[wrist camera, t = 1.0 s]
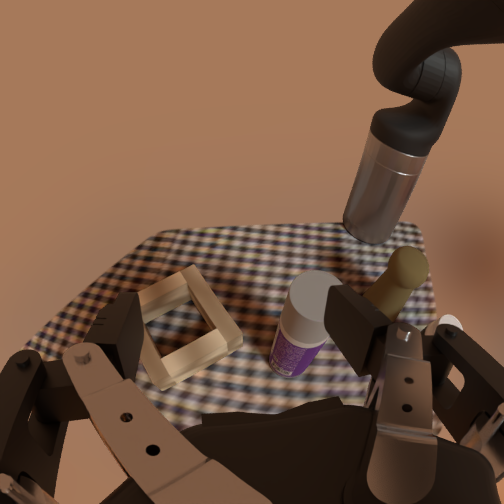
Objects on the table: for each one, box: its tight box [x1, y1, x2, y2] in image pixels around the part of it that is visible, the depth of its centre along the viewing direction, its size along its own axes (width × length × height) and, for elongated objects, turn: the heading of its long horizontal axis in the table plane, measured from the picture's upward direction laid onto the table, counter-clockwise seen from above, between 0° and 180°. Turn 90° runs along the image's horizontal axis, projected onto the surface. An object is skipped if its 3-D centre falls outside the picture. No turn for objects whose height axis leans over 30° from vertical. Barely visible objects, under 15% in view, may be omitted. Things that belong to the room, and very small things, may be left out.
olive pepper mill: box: [363, 246, 429, 322], centre depth 32 cm, size 6×6×11 cm
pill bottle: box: [420, 314, 463, 335], centre depth 28 cm, size 5×5×8 cm
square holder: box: [137, 264, 243, 391], centre depth 32 cm, size 11×11×4 cm
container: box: [269, 270, 343, 378], centre depth 26 cm, size 5×5×15 cm
